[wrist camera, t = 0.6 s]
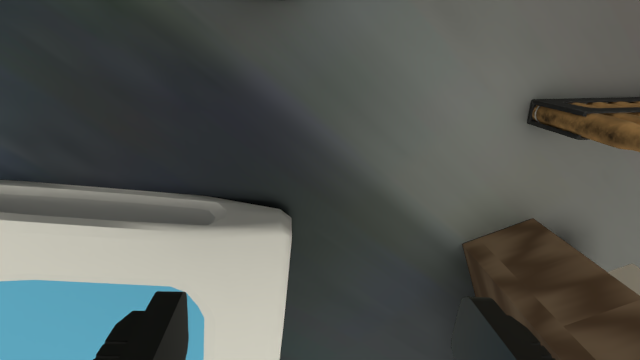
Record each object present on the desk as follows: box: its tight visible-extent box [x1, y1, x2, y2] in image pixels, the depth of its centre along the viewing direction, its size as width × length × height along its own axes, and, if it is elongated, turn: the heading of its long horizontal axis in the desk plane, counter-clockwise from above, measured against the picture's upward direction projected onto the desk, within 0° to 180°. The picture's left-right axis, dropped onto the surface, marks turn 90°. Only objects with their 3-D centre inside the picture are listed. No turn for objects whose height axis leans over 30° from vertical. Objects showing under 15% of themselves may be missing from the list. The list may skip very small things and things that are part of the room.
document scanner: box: [0, 180, 292, 360], centre depth 28 cm, size 21×28×6 cm
